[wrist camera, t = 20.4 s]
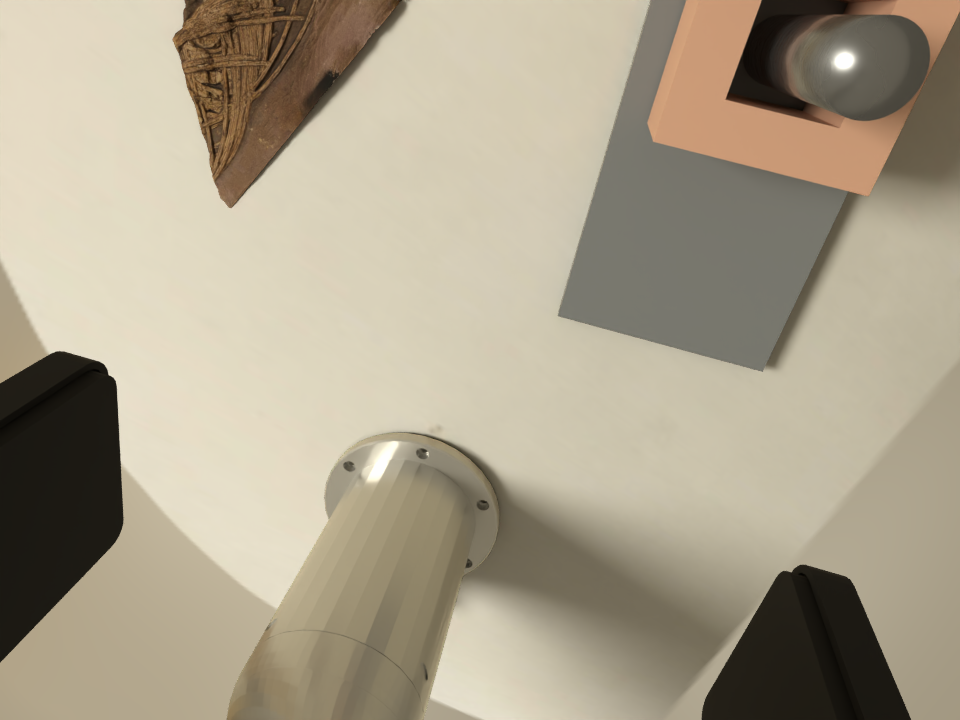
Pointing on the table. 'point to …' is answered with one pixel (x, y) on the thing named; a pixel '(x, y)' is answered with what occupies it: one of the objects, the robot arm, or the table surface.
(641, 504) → the table surface
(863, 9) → the block
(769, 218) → the track
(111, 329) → the table surface
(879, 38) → the dowel
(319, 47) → the wooden fragment
